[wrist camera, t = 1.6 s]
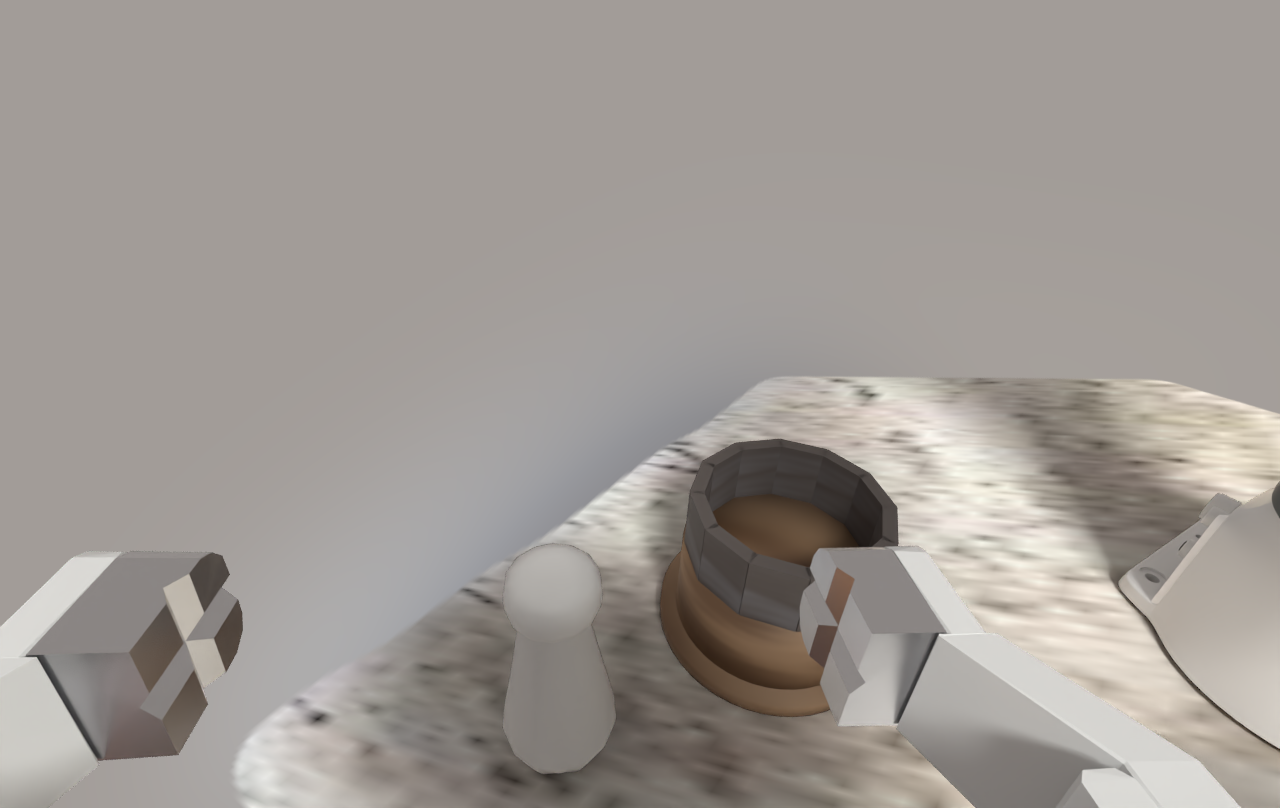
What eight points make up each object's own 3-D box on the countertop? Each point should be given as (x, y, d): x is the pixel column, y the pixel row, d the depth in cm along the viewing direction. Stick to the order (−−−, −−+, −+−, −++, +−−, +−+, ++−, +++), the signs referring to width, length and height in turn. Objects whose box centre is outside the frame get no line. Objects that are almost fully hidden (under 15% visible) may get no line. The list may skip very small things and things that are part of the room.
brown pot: (752, 510, 48) (772, 405, 43) (917, 626, 40) (968, 512, 34) (616, 601, 40) (620, 486, 35) (786, 770, 32) (826, 652, 26)
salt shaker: (635, 722, 34) (647, 558, 27) (570, 819, 30) (564, 654, 22) (552, 668, 36) (543, 505, 29) (483, 750, 32) (452, 582, 25)
